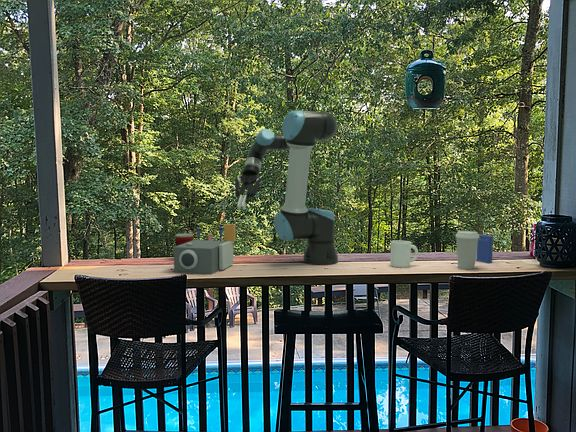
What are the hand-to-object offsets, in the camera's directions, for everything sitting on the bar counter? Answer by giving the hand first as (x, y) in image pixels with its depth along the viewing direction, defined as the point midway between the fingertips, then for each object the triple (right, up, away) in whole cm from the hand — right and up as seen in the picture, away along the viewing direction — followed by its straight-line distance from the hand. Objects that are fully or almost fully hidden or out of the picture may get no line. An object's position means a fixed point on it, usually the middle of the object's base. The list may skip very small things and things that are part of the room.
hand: (240, 207), depth 248 cm
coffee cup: (+95, -25, -16) cm, 99 cm away
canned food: (-25, -23, +2) cm, 34 cm away
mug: (+70, -25, -12) cm, 75 cm away
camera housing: (-14, -25, -19) cm, 34 cm away
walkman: (+107, -24, -1) cm, 109 cm away
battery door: (-5, -25, -18) cm, 31 cm away
